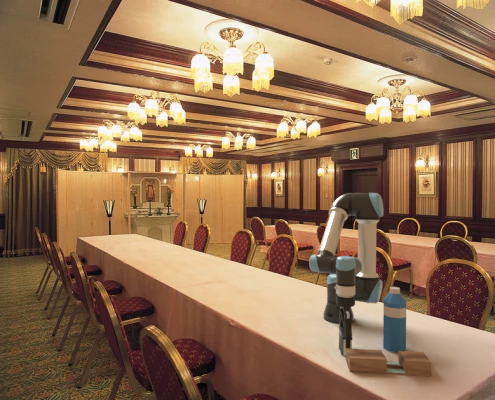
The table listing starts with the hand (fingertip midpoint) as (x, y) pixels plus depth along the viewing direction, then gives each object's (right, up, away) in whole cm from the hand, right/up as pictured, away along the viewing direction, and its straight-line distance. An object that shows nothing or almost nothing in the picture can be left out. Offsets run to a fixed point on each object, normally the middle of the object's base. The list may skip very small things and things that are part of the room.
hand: (345, 349), depth 147 cm
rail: (+12, -1, -14) cm, 18 cm away
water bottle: (+22, -1, +4) cm, 22 cm away
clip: (0, -1, 0) cm, 1 cm away
